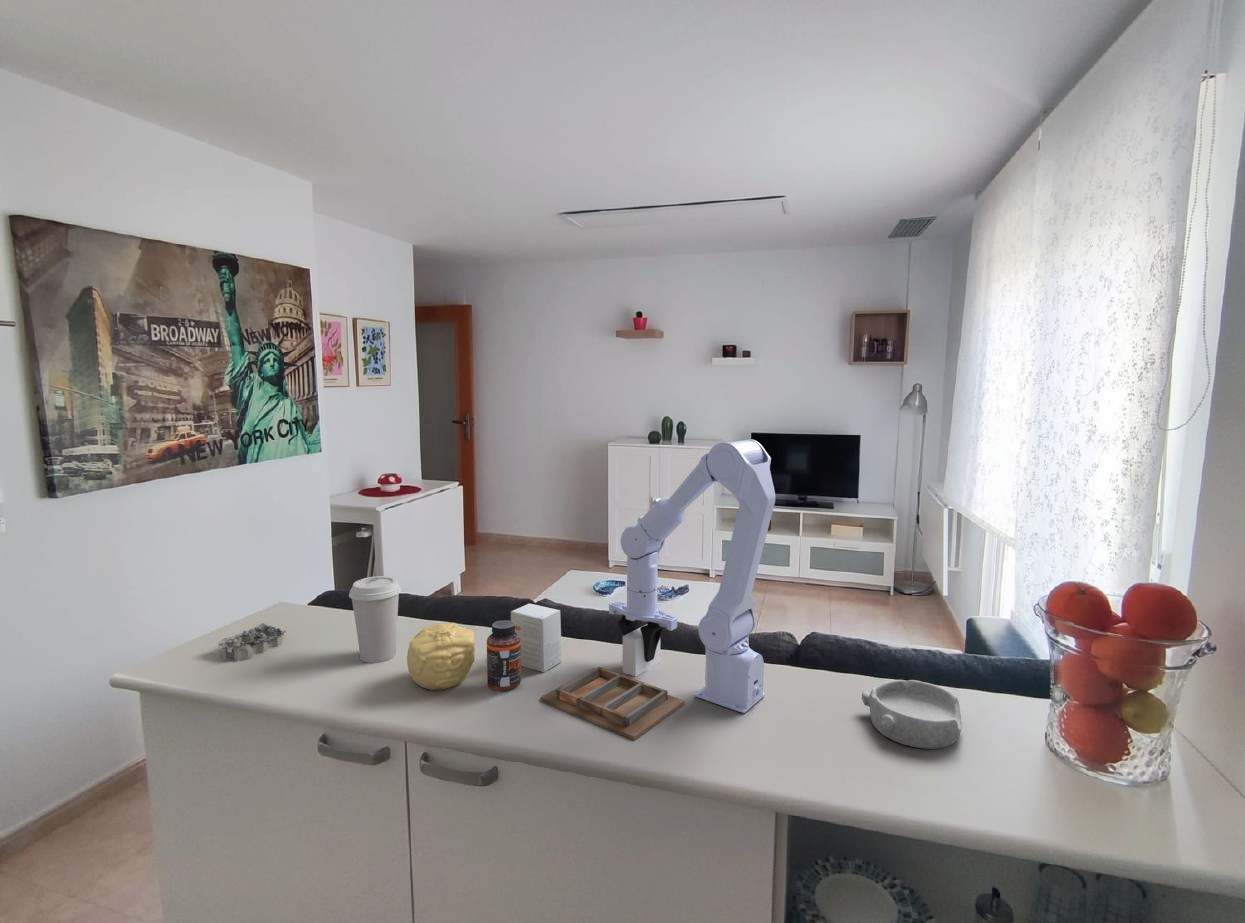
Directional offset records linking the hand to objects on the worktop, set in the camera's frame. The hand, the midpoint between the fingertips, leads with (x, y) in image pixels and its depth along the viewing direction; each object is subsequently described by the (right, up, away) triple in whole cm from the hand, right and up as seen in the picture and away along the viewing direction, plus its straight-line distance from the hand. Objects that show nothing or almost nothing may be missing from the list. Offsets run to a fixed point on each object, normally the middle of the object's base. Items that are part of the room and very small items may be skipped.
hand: (641, 657), depth 120 cm
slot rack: (-5, -3, -13) cm, 15 cm away
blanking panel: (0, -2, 0) cm, 2 cm away
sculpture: (-36, -3, -6) cm, 37 cm away
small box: (-20, -2, +2) cm, 20 cm away
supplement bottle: (-25, -3, -7) cm, 26 cm away
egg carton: (-78, -1, +8) cm, 79 cm away
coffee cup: (-52, -1, +5) cm, 52 cm away
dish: (+42, -5, -21) cm, 47 cm away
